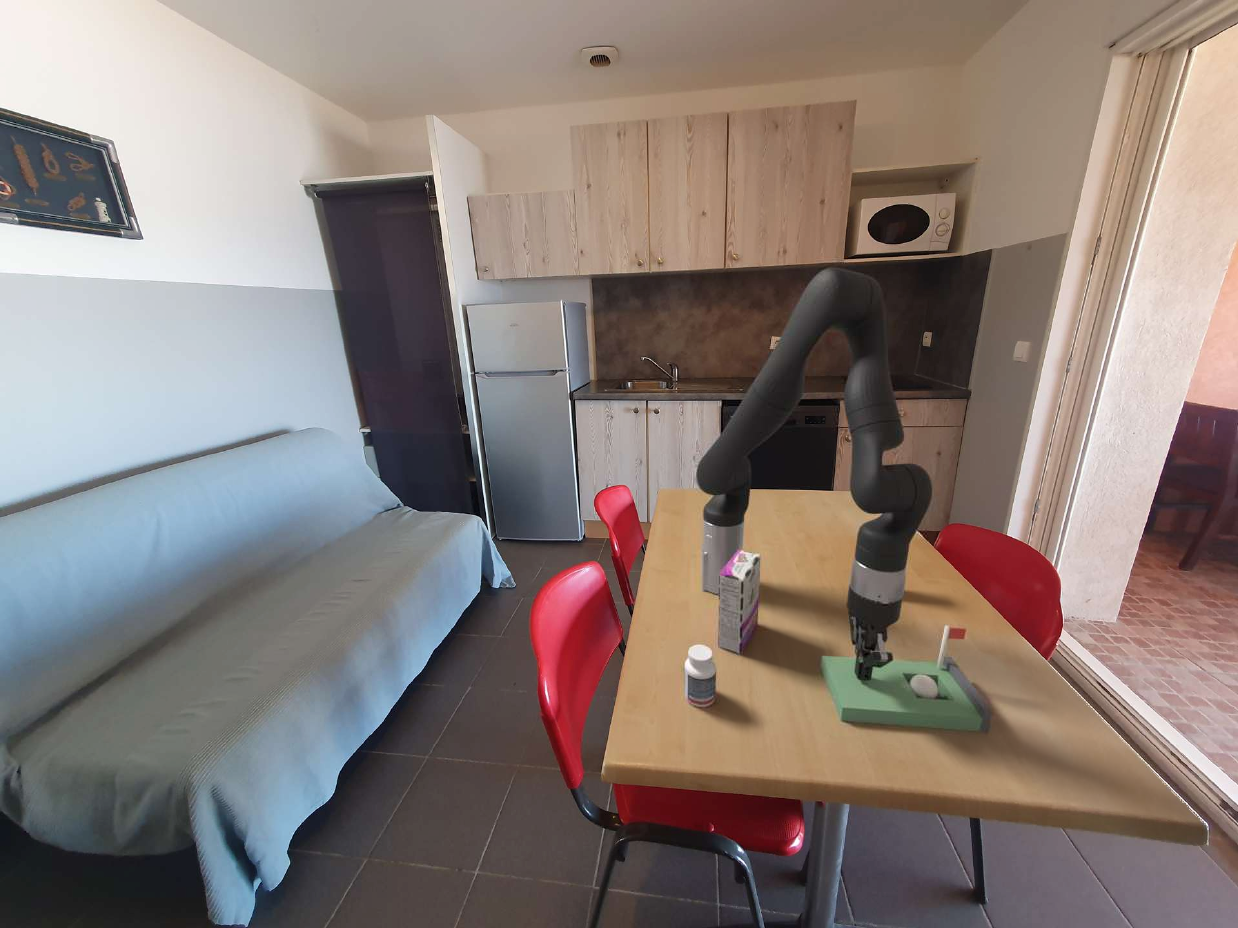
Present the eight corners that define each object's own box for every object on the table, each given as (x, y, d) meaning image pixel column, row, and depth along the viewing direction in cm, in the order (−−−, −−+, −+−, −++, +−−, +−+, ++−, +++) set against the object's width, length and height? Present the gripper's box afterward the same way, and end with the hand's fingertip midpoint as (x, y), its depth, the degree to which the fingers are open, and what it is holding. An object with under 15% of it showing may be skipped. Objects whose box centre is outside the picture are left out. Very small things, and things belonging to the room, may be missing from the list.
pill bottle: (721, 703, 80) (722, 659, 77) (692, 711, 78) (693, 666, 76) (706, 681, 85) (707, 639, 82) (679, 688, 83) (679, 645, 81)
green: (840, 720, 76) (848, 662, 72) (820, 667, 87) (826, 615, 84) (991, 732, 72) (1006, 672, 69) (950, 675, 84) (961, 622, 81)
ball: (948, 697, 76) (927, 711, 77) (936, 679, 80) (916, 693, 81) (931, 681, 76) (910, 695, 77) (919, 664, 80) (899, 678, 81)
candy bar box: (734, 617, 102) (737, 548, 97) (758, 624, 100) (762, 553, 95) (715, 647, 93) (718, 572, 88) (740, 655, 91) (744, 579, 86)
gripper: (837, 564, 82) (827, 649, 87) (866, 610, 69) (852, 706, 74) (884, 566, 81) (871, 651, 86) (921, 612, 68) (903, 709, 73)
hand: (862, 677), depth 80 cm, fingers closed
